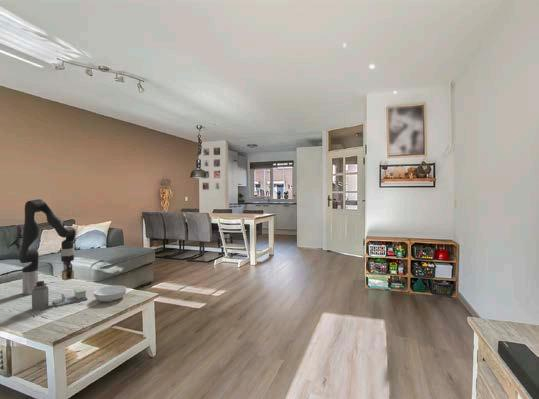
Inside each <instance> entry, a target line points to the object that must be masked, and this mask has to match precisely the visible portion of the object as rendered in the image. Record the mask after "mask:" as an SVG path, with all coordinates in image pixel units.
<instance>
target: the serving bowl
mask: <svg viewBox="0 0 539 399" xmlns="http://www.w3.org/2000/svg"><path fill="white" fill-rule="evenodd" d="M127 289H128V288H127V287H126V286H124V285H108V286H104V287H100V288H97V289H96V290H94V292H93V296H94V298H95V299H96V300H97V301H100V302H113V300H114V301H116V300H119V299H121V298H123V297H124V296H125V295H126V292H127Z"/></svg>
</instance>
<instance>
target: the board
mask: <svg viewBox="0 0 539 399" xmlns="http://www.w3.org/2000/svg"><path fill="white" fill-rule="evenodd" d="M87 300H88V297H87V296H86V297H84V298H80V299H77V298H76V297H75V295H72V296H69V297H68V296H67V297H66V293H61V298H60V299H59V298H58V299H54V300H52V303H53V304H54V306H55V307H56V308H58V307H63V306H67V305H71V304H75V303H79V302H84V301H87Z"/></svg>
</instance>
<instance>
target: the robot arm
mask: <svg viewBox="0 0 539 399" xmlns="http://www.w3.org/2000/svg"><path fill="white" fill-rule="evenodd" d="M36 213H44V214H45V217H46V221H47V224H48V225H50V226H51V227H52V228H53V229H54V231H56V233H57V236H59V237H60V238H65V239H64V240H63V241H61V251H60V261H61V262H62V263H63V264H62V266H63V270H66V271H67V278H71V272H72V270H73V264H72V262H73V261H75V250H74V241H75V238H76V233H77V231H76V228H75V227H72V226H69V227H68V226H67V227H65V226H66V223H65V222H64V221H63V220H62V219H61V218H59V216H57V215H56V214H55V212H54V211H53V210H52V209H51V208H50V206H49V205H48V204H47V203H46V202H45V200H43V199H41V198H40V199H32V200H28V201H26V202H25V204H24V225H23V231H22V240H21V241H22V242H21V247H20V252H19V257H18V259H19V262H20V263H21V264H28V263H29V264H28V265H26V266H24V267H23V268H22V270H21V271H22V272H21V273H22V278H21V279H22V286H21V287H22V295H24V296H29V295H32V290H33V289H34V286H35V285H36V283H37V282H38V281H39V256H40V255H39V250H37V249H31V250H30V249H29V248H30V247H31V245H32V244H33V243H34V242H35V241H36V240H37V239H38V238H39V235H40V226H39V224H38V223H37V221H36V219H35V214H36ZM69 270H70V271H69Z"/></svg>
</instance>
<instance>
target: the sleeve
mask: <svg viewBox="0 0 539 399" xmlns="http://www.w3.org/2000/svg"><path fill="white" fill-rule="evenodd" d="M69 271H70V270H69ZM74 279H75V270H74V269H72V272H71V278H67V271H66V270H64V269H62V270H61V280H62V281H69V280H74Z"/></svg>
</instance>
